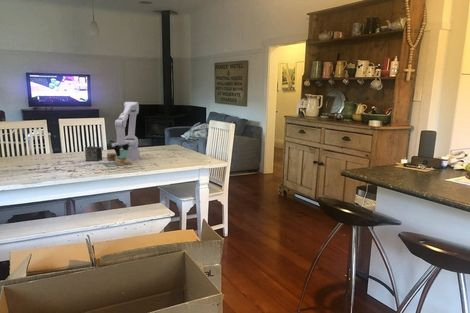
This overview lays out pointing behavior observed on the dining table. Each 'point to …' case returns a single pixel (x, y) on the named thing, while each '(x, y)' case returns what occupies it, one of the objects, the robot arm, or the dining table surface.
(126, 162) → the oak block
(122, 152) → the teal block
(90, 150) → the small box
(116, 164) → the placemat
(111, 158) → the walnut block
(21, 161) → the dining table surface
